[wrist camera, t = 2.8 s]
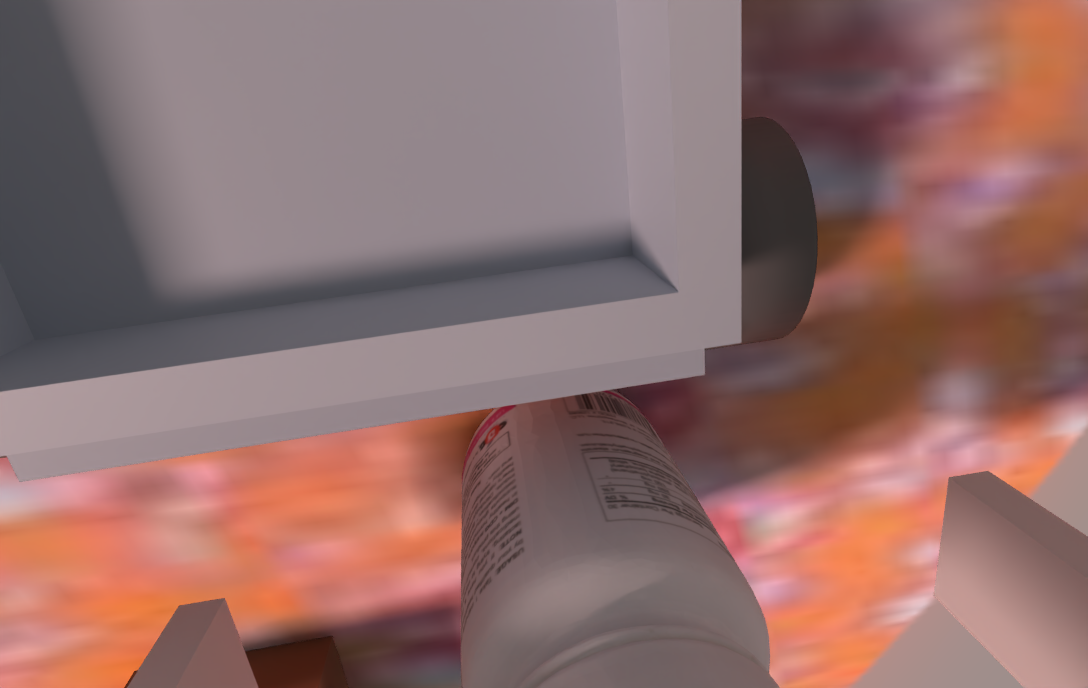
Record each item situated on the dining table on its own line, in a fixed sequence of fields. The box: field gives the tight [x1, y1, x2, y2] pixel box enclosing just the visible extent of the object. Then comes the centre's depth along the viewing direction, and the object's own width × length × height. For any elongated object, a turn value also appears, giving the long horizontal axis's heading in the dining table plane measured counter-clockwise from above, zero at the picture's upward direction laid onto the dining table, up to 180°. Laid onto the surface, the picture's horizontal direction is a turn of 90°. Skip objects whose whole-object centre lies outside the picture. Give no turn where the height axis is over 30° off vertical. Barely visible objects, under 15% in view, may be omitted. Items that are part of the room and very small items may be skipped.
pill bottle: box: [461, 390, 779, 688], centre depth 11 cm, size 5×5×8 cm
